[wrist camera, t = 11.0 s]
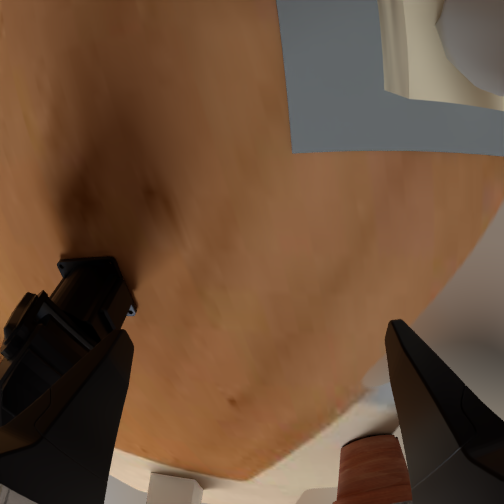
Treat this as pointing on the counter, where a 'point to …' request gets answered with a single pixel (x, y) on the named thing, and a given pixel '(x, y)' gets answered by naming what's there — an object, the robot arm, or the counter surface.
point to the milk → (173, 490)
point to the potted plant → (373, 472)
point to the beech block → (423, 57)
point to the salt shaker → (475, 41)
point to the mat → (364, 89)
